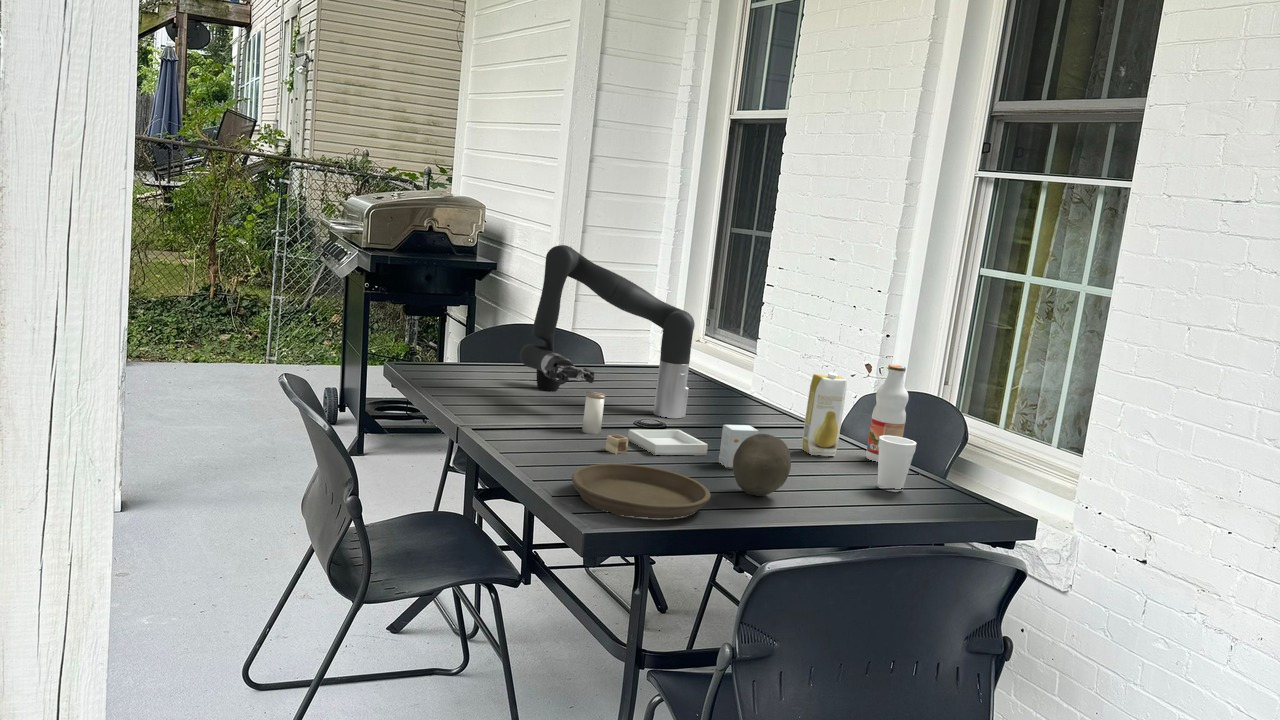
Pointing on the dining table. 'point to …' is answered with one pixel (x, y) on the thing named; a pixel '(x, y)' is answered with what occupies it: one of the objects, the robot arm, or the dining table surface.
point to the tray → (667, 442)
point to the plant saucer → (639, 490)
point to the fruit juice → (888, 410)
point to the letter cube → (617, 444)
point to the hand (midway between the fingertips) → (578, 379)
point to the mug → (547, 382)
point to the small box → (733, 441)
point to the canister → (593, 412)
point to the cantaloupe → (761, 464)
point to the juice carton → (824, 414)
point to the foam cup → (894, 460)
